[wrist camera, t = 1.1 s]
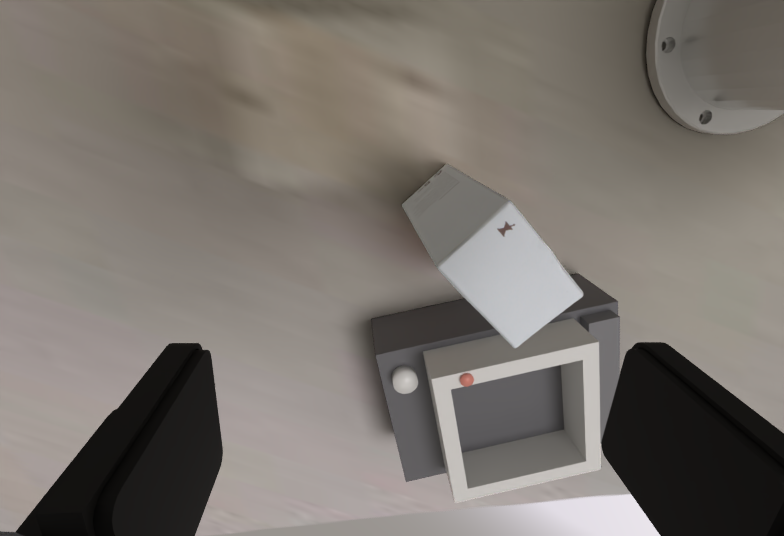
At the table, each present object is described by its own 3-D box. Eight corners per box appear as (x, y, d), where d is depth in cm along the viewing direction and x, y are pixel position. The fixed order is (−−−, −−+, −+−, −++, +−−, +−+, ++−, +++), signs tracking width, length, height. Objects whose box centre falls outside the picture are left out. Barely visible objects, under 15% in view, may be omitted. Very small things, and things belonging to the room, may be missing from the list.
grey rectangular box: (578, 273, 32) (651, 324, 24) (582, 391, 36) (645, 467, 28) (371, 319, 32) (379, 385, 24) (398, 433, 36) (412, 521, 28)
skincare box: (398, 205, 29) (431, 265, 18) (446, 161, 28) (512, 195, 17) (454, 265, 31) (515, 353, 20) (500, 225, 30) (590, 293, 19)
